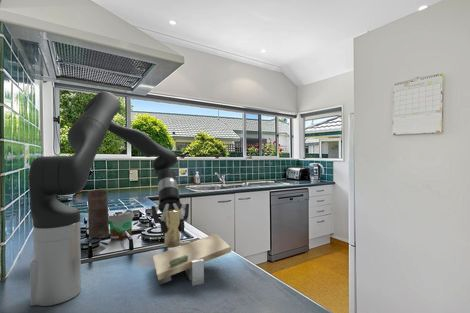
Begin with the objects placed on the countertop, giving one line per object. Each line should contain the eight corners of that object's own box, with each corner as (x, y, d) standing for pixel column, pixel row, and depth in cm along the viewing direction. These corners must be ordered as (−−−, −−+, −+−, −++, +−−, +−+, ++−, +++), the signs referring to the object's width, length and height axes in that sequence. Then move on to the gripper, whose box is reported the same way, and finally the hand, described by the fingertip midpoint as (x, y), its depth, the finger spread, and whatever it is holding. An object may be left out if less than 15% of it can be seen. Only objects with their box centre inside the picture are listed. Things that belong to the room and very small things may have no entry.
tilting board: (159, 284, 64) (155, 269, 63) (154, 264, 76) (151, 251, 75) (232, 255, 71) (229, 241, 71) (217, 241, 83) (214, 229, 83)
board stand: (192, 285, 65) (192, 262, 65) (180, 261, 80) (180, 242, 80) (203, 283, 66) (203, 260, 66) (189, 259, 82) (189, 240, 82)
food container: (122, 242, 99) (122, 216, 99) (108, 241, 100) (108, 216, 100) (140, 233, 111) (140, 209, 111) (127, 232, 112) (127, 209, 112)
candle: (90, 241, 100) (89, 190, 100) (86, 237, 105) (85, 188, 105) (111, 237, 105) (110, 188, 105) (106, 233, 111) (105, 187, 110)
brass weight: (165, 248, 86) (165, 212, 86) (163, 243, 91) (164, 209, 91) (181, 246, 88) (181, 211, 88) (178, 241, 93) (178, 208, 93)
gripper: (185, 197, 104) (192, 235, 93) (148, 199, 99) (150, 239, 87) (188, 185, 99) (195, 223, 88) (149, 186, 94) (151, 227, 83)
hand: (173, 231), depth 88 cm, fingers closed on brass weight, 5 cm apart
